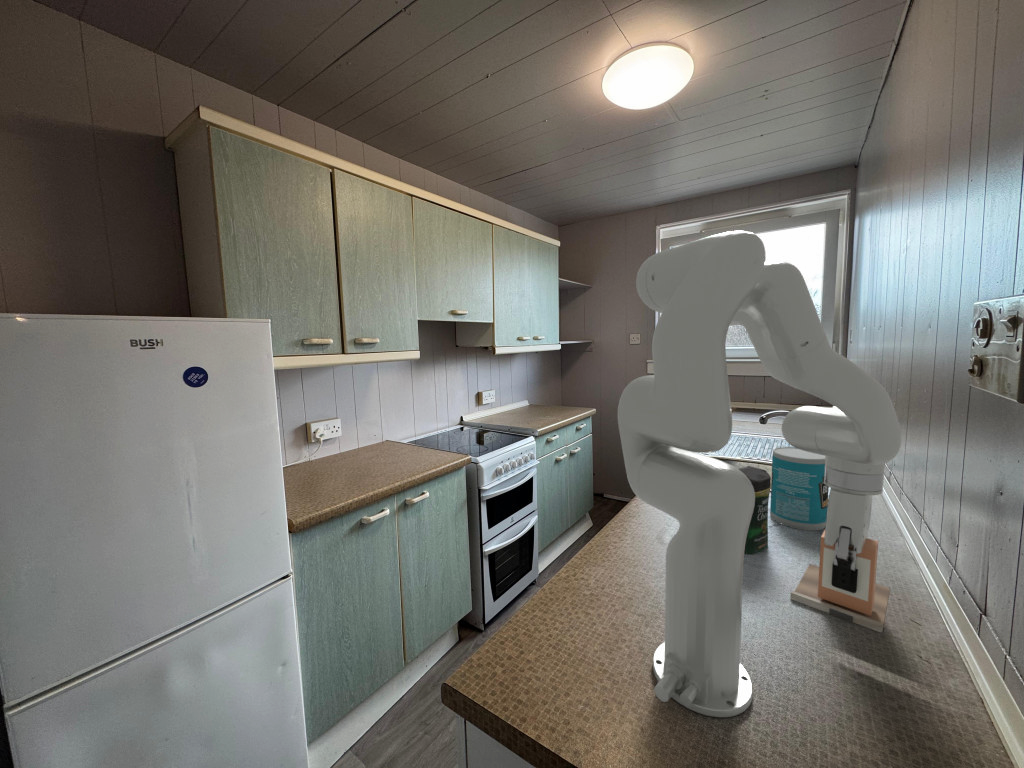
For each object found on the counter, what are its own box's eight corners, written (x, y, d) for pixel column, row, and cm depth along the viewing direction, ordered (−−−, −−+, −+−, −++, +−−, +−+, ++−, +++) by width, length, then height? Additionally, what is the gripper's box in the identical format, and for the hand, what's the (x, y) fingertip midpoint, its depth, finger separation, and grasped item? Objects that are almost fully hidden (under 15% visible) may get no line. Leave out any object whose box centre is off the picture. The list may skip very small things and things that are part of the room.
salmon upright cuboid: (871, 616, 65) (875, 551, 64) (817, 597, 70) (820, 536, 69) (874, 603, 68) (878, 541, 67) (822, 586, 73) (825, 528, 72)
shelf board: (881, 640, 63) (882, 626, 63) (789, 605, 71) (790, 593, 71) (889, 594, 74) (890, 582, 74) (809, 569, 83) (810, 558, 82)
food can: (761, 510, 111) (763, 446, 110) (808, 511, 110) (811, 446, 108) (785, 530, 100) (788, 459, 98) (838, 531, 98) (842, 459, 96)
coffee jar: (751, 563, 85) (754, 478, 83) (715, 547, 92) (717, 468, 90) (774, 550, 90) (777, 469, 89) (739, 536, 97) (741, 461, 95)
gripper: (833, 463, 76) (827, 555, 78) (814, 486, 64) (808, 594, 66) (887, 471, 70) (880, 570, 72) (877, 498, 59) (869, 616, 60)
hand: (846, 580), depth 69 cm, fingers open, 4 cm apart
